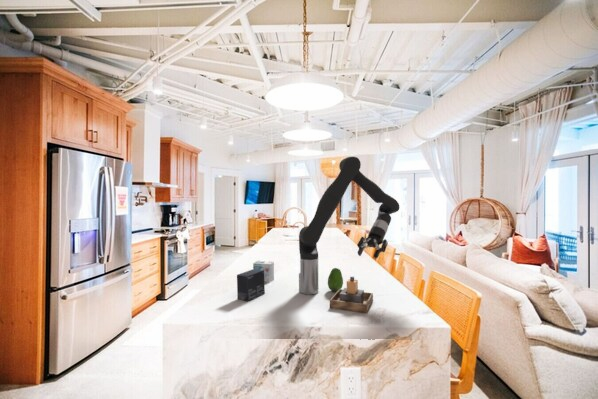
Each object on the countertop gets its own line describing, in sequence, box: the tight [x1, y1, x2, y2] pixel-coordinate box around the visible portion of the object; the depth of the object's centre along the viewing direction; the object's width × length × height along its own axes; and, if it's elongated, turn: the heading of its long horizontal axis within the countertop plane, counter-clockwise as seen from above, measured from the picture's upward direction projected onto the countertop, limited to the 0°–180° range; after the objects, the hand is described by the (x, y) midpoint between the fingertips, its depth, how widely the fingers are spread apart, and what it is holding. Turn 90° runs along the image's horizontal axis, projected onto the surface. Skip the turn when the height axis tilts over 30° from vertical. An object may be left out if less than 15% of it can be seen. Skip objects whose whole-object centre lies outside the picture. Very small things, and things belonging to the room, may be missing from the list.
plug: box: [346, 276, 359, 294], centre depth 132 cm, size 4×4×12 cm
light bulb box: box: [252, 260, 275, 284], centre depth 170 cm, size 11×7×11 cm, turn 73°
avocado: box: [327, 267, 344, 293], centre depth 150 cm, size 8×8×12 cm
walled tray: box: [329, 287, 374, 314], centre depth 132 cm, size 16×16×6 cm
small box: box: [236, 268, 266, 302], centre depth 143 cm, size 13×7×12 cm, turn 149°
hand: (366, 256), depth 141 cm, fingers open, 8 cm apart
